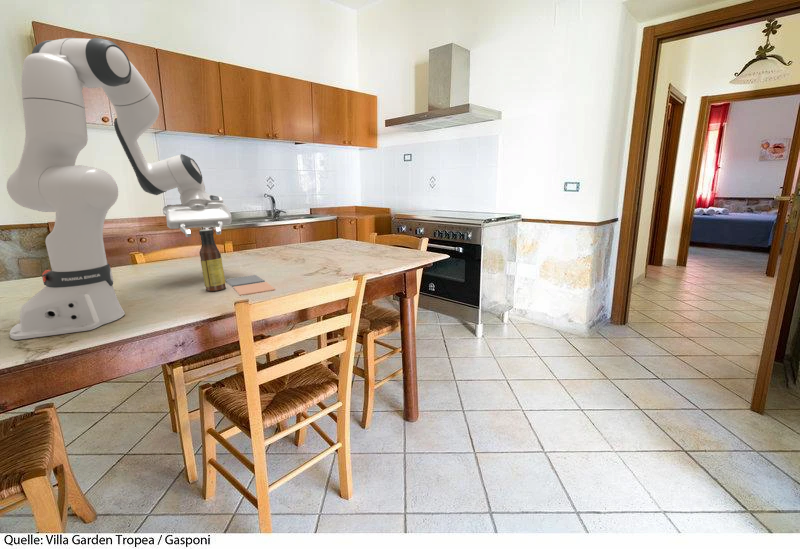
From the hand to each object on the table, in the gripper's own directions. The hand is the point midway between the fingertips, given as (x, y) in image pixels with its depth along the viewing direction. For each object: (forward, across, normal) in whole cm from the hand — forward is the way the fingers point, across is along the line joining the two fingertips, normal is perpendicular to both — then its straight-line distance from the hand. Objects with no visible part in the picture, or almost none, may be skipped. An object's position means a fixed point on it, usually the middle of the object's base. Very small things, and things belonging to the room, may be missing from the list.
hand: (204, 234), depth 132 cm
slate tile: (+15, +11, +10) cm, 21 cm away
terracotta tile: (+24, +11, +1) cm, 26 cm away
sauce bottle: (+18, 0, +6) cm, 20 cm away
